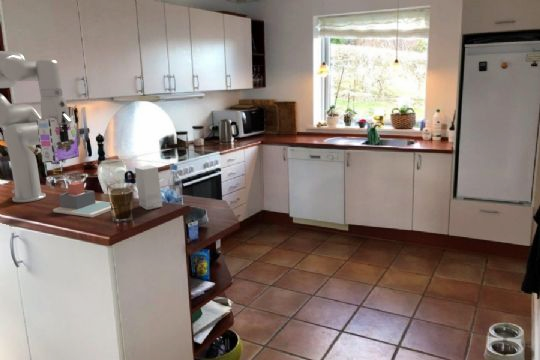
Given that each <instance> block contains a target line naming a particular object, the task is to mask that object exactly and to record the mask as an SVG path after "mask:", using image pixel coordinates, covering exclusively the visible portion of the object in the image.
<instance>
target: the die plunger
mask: <svg viewBox="0 0 540 360" xmlns="http://www.w3.org/2000/svg"><path fill="white" fill-rule="evenodd" d="M84 190H85V185H84V182H82V181H73V182H71V183H67V191H68V192H69V194H68V195H73V196H77V195H80V194H84V193H85V192H84Z"/></svg>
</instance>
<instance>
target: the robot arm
mask: <svg viewBox="0 0 540 360" xmlns="http://www.w3.org/2000/svg"><path fill="white" fill-rule="evenodd" d="M59 68H60V67H59V63H58V61H57V60H55V59H40V60H38V59H37V60H27V59H26V58H25V57H24V55H23V54H22V53H21V52H18V51H13V50H12V51H10V50H9V51H7V50H6V51H4V50H0V89H8V88H12V87H15V85H16V84H17V83H18V82H38V88H39V96H40V114H41V115H40V114H39V113H38V112H37V110H36V109H35V107H33V105H30V104H27V103H21V104H20V103H19V104H13V103H11V102H9V100H8V98H6V96H4V95H3V94H2V93H0V127H1V128H3V133H2V134H3V139H4V140H3V141H4V143H5V145H6V148H7V152H8V156H9V160H10V167H11V173H12V180H13V184H14V188H13V189H12V190H11V193H12V194H14V196H12V202H15V203H28V202H35V201H39V200H42V199H44V198H47V197H46V196H47V195H46V193H45V192H42V189H41V183H40V175H39V168H38V162H37V157H36V154H35V153H34V152H33V151H32V150H31V148H30V147H31V146H37V145H39V146H40V142H39V134H38V127H37V120H36V119H40V118H48V117H53V118H56V120H57V124H59V128H60V130H61V132H60V139H61V142H67V141H69V137H68V130H69V129H68V128H69V127H70V124H71V122H72V121H71V120H70V118H69V116H70V114H69V108H68V104H67V101H66V98H65V97H64V95H63V89H62V88H63V87H62V82H61V75H60V69H59ZM61 122H63V123H61ZM62 125H63V127H62Z"/></svg>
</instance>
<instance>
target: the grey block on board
mask: <svg viewBox="0 0 540 360" xmlns="http://www.w3.org/2000/svg"><path fill="white" fill-rule="evenodd" d="M84 192H85V193H84V194H80V195H77V196H73V195H68V194H69V192H64V193H59V195H58V198H59V199H58V200H59V207H56V208H53V209H52V211H53V213H57V214H59V213H60V214H66V215H72V216H82V217H87V218H95V217H97V216H100V215H102V214H105V213H108V212H110V211H112V210H111V205H110V202H109V201H100V200H96V196H95V195H96V194H95V190H90V189H89V190H88V189H84Z"/></svg>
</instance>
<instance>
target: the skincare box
mask: <svg viewBox="0 0 540 360" xmlns="http://www.w3.org/2000/svg"><path fill="white" fill-rule="evenodd" d="M134 173H135V179H136V188H137V197H138V204H139V207H140V208H141V207H142V208H143V209H145V210H148V211H149V210H154V209H157V208H162V207H163V200H162V193H161V185H160V176H159V169H158V166H155V165H151V164H146V165H142V166H136V167H134Z"/></svg>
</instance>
